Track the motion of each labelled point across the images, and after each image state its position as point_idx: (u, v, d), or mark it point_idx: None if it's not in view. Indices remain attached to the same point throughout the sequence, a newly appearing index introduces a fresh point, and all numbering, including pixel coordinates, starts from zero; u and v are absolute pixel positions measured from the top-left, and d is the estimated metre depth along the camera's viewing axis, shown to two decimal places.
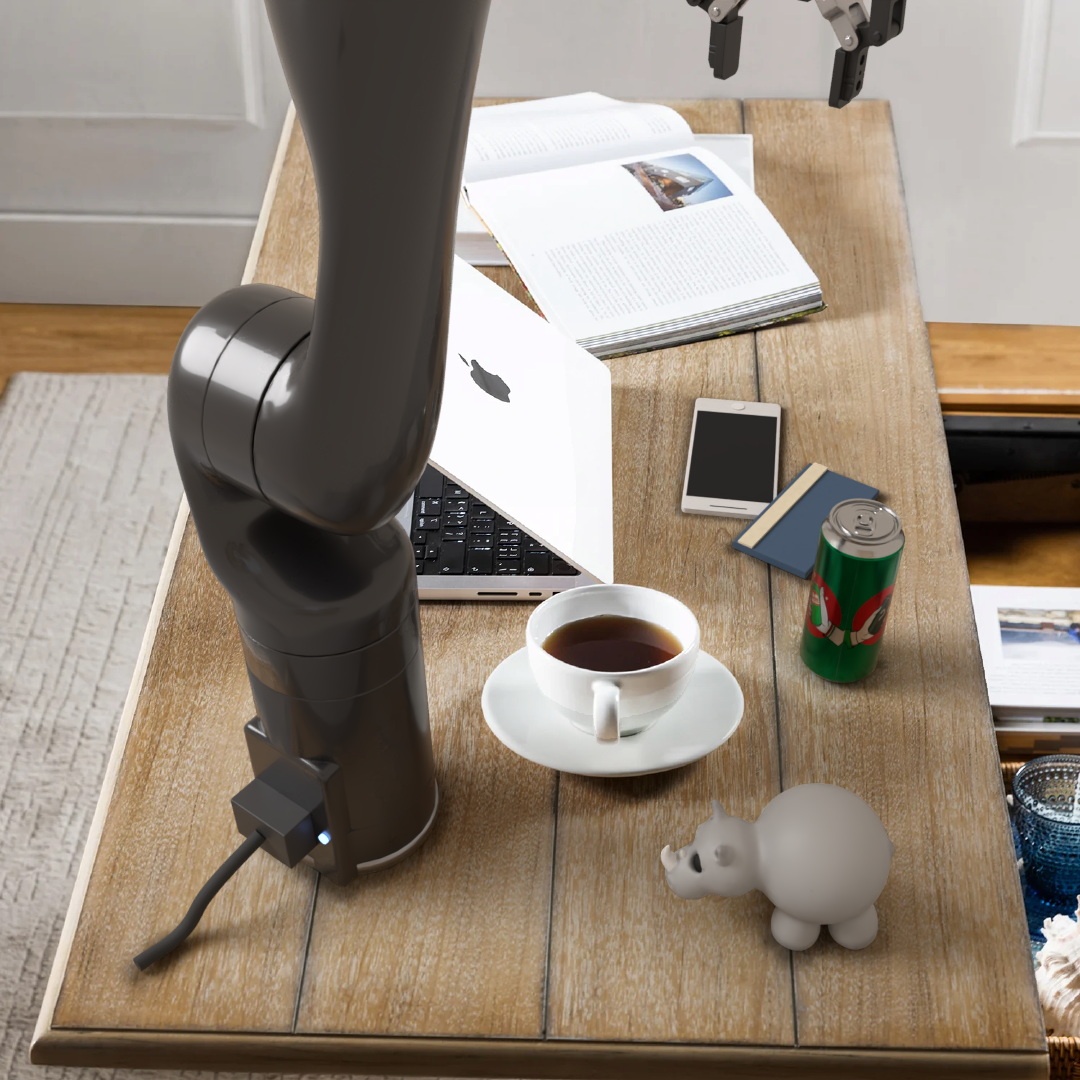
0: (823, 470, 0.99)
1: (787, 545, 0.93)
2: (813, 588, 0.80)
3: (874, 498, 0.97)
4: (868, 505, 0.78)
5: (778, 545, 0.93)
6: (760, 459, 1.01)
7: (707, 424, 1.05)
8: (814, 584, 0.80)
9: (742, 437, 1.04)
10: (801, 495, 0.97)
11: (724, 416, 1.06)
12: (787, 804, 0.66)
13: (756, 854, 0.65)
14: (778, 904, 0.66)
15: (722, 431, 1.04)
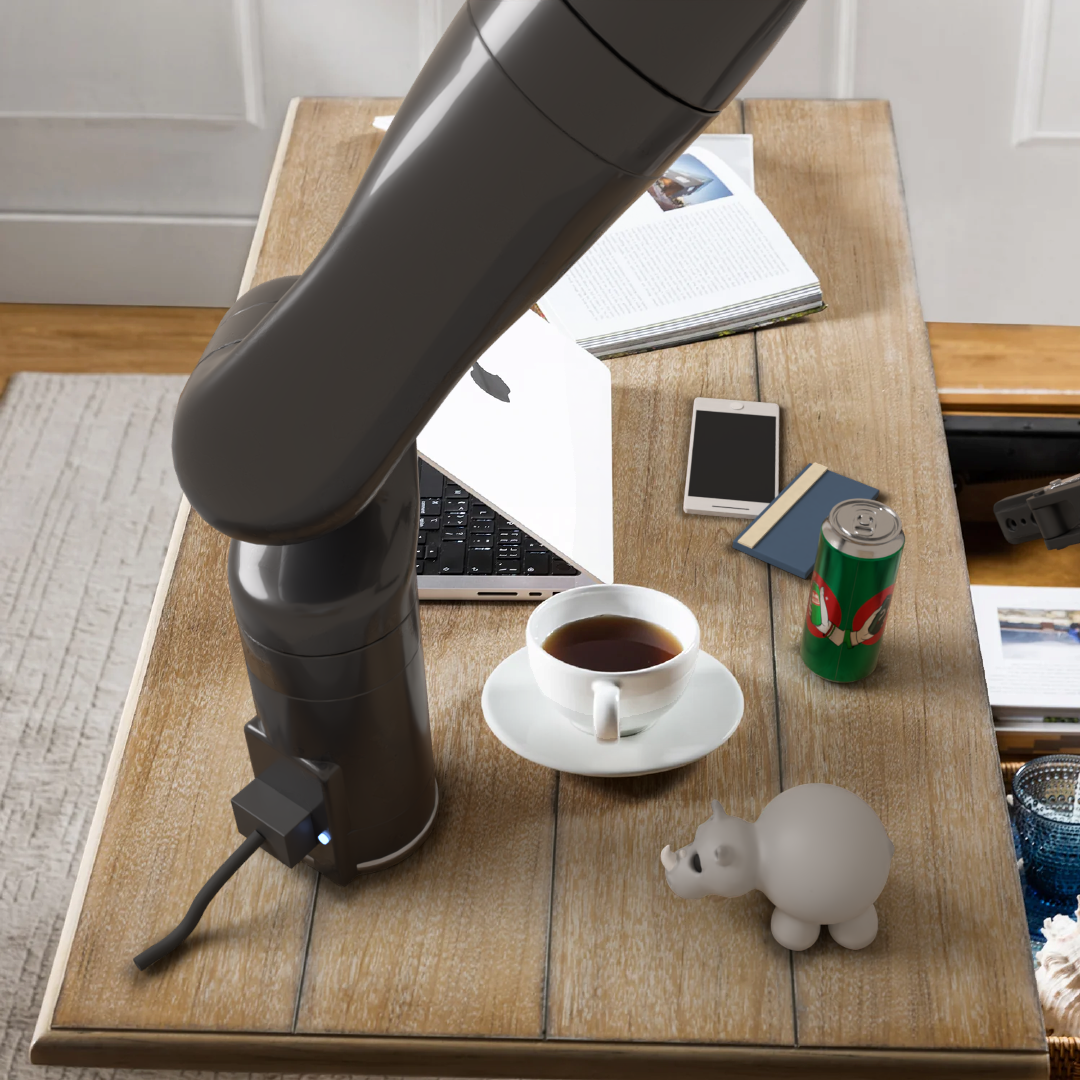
0: (823, 470, 0.99)
1: (787, 545, 0.93)
2: (813, 588, 0.80)
3: (874, 498, 0.97)
4: (868, 505, 0.78)
5: (778, 545, 0.93)
6: (761, 459, 1.01)
7: (706, 424, 1.05)
8: (814, 584, 0.80)
9: (742, 437, 1.04)
10: (801, 495, 0.97)
11: (723, 416, 1.06)
12: (787, 804, 0.66)
13: (756, 854, 0.65)
14: (778, 904, 0.66)
15: (721, 431, 1.04)
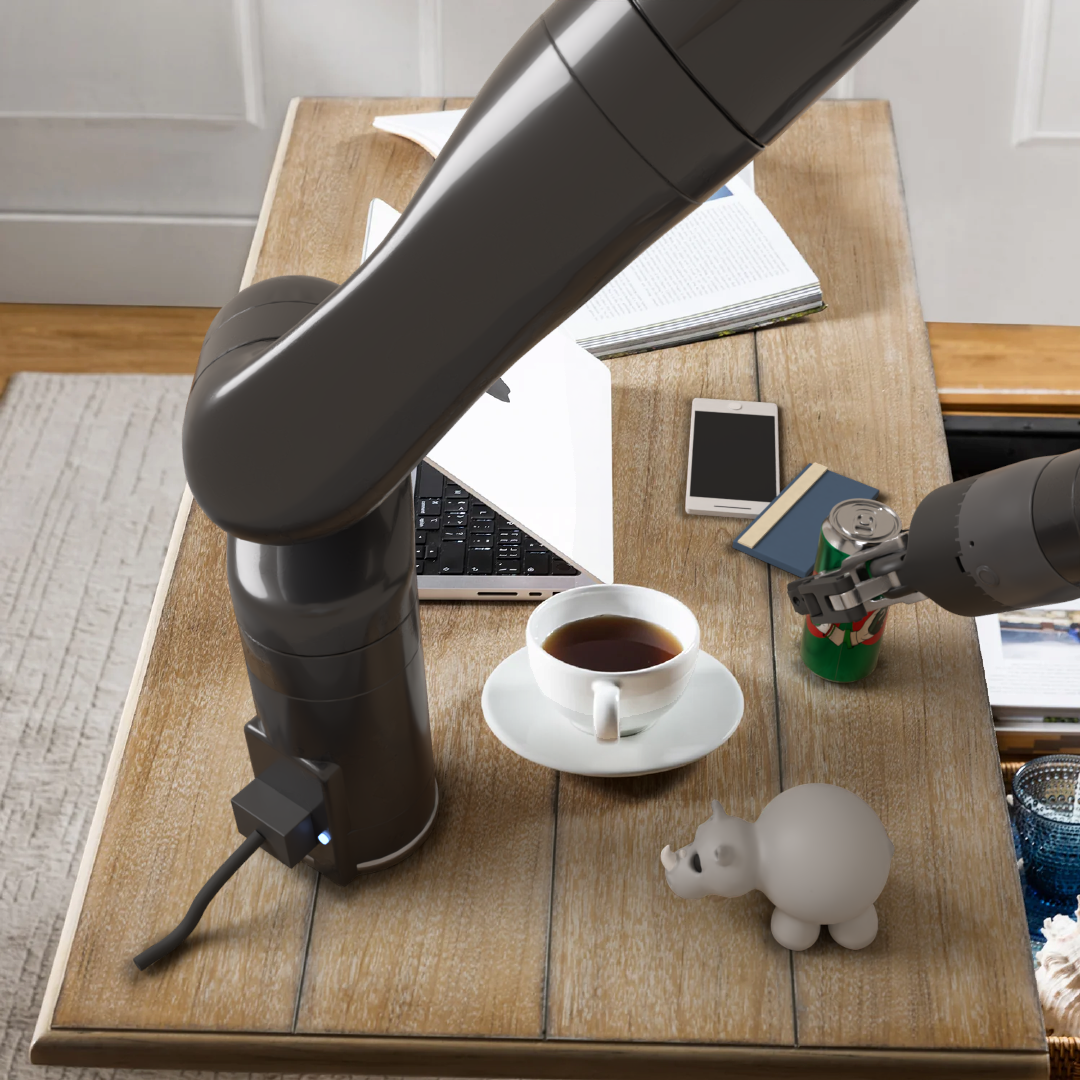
0: (823, 470, 0.99)
1: (787, 545, 0.93)
2: None
3: (874, 498, 0.97)
4: (868, 505, 0.78)
5: (778, 545, 0.93)
6: (761, 459, 1.01)
7: (705, 424, 1.05)
8: None
9: (742, 437, 1.04)
10: (801, 495, 0.97)
11: (721, 416, 1.06)
12: (787, 804, 0.66)
13: (756, 854, 0.65)
14: (778, 904, 0.66)
15: (721, 431, 1.04)
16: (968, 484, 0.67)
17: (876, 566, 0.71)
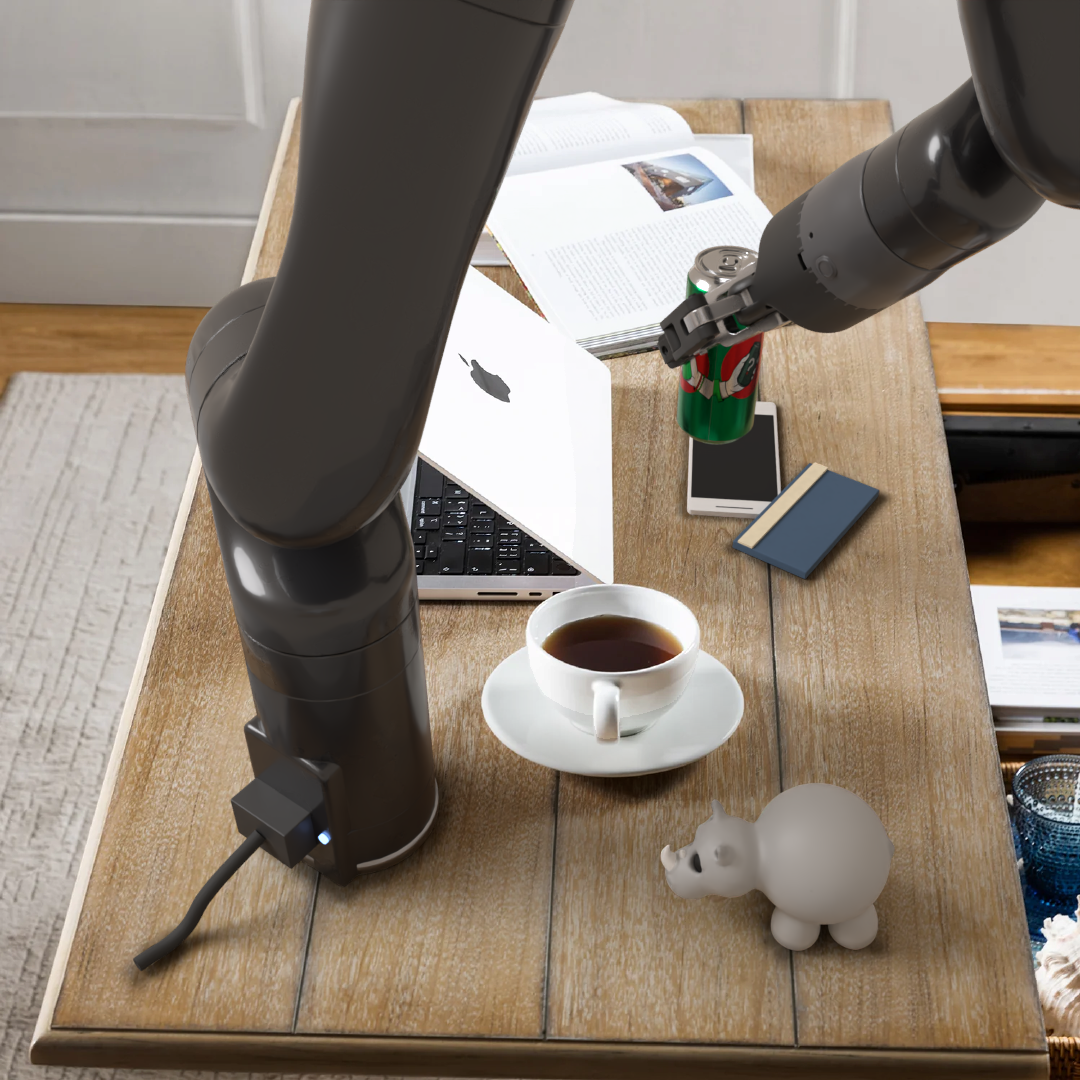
0: (823, 470, 0.99)
1: (787, 545, 0.93)
2: None
3: (874, 498, 0.97)
4: (736, 251, 0.78)
5: (778, 545, 0.93)
6: (761, 458, 1.01)
7: None
8: None
9: None
10: (801, 495, 0.97)
11: None
12: (787, 804, 0.66)
13: (756, 854, 0.65)
14: (778, 904, 0.66)
15: None
16: (813, 186, 0.67)
17: (730, 287, 0.71)
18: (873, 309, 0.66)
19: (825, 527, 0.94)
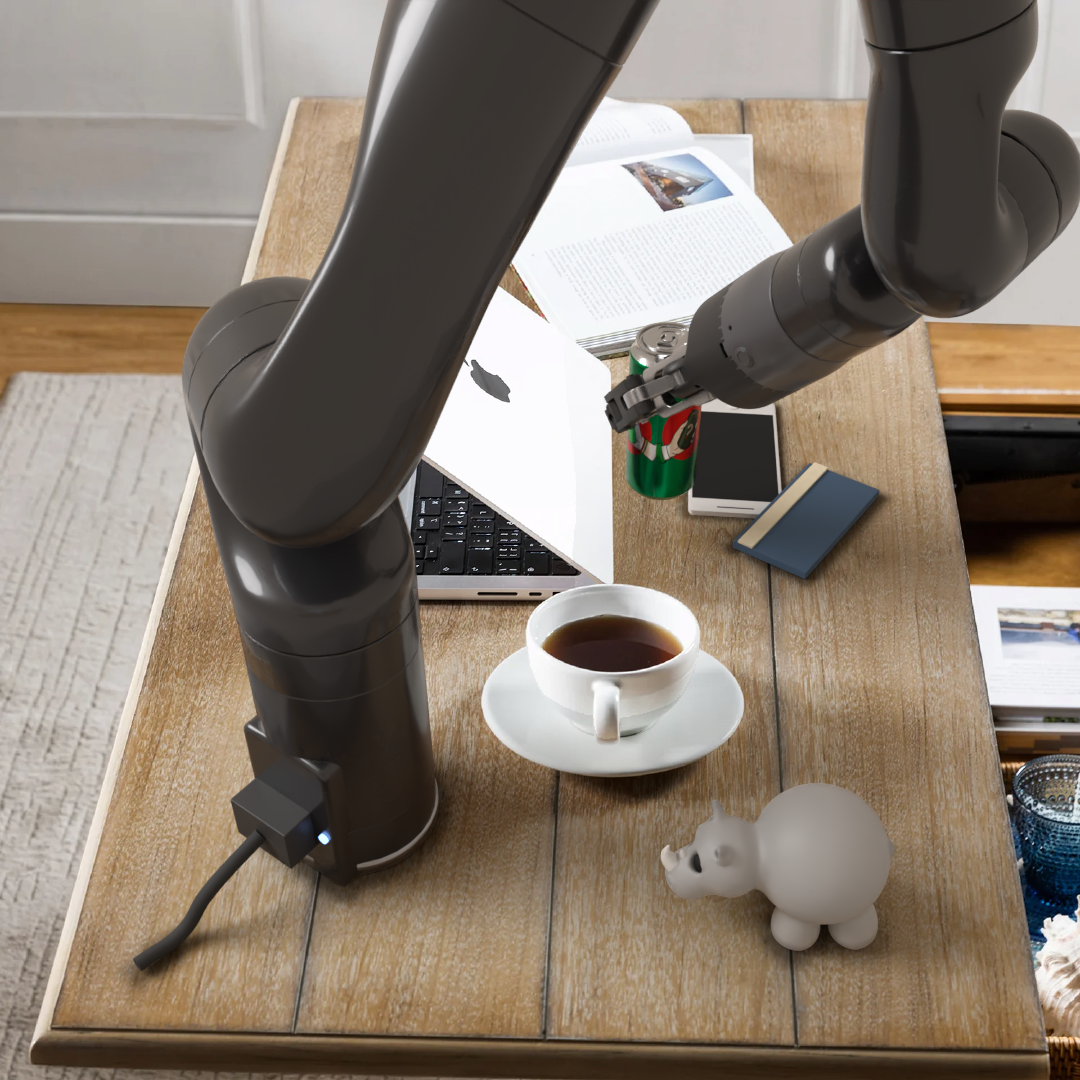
0: (823, 470, 0.99)
1: (787, 545, 0.93)
2: None
3: (874, 498, 0.97)
4: (674, 327, 0.86)
5: (778, 545, 0.93)
6: (761, 458, 1.01)
7: (704, 424, 1.05)
8: None
9: (741, 437, 1.04)
10: (801, 495, 0.97)
11: (720, 416, 1.06)
12: (787, 804, 0.66)
13: (756, 854, 0.65)
14: (778, 904, 0.66)
15: (720, 431, 1.04)
16: (734, 281, 0.74)
17: (664, 367, 0.79)
18: (789, 391, 0.74)
19: (825, 527, 0.94)
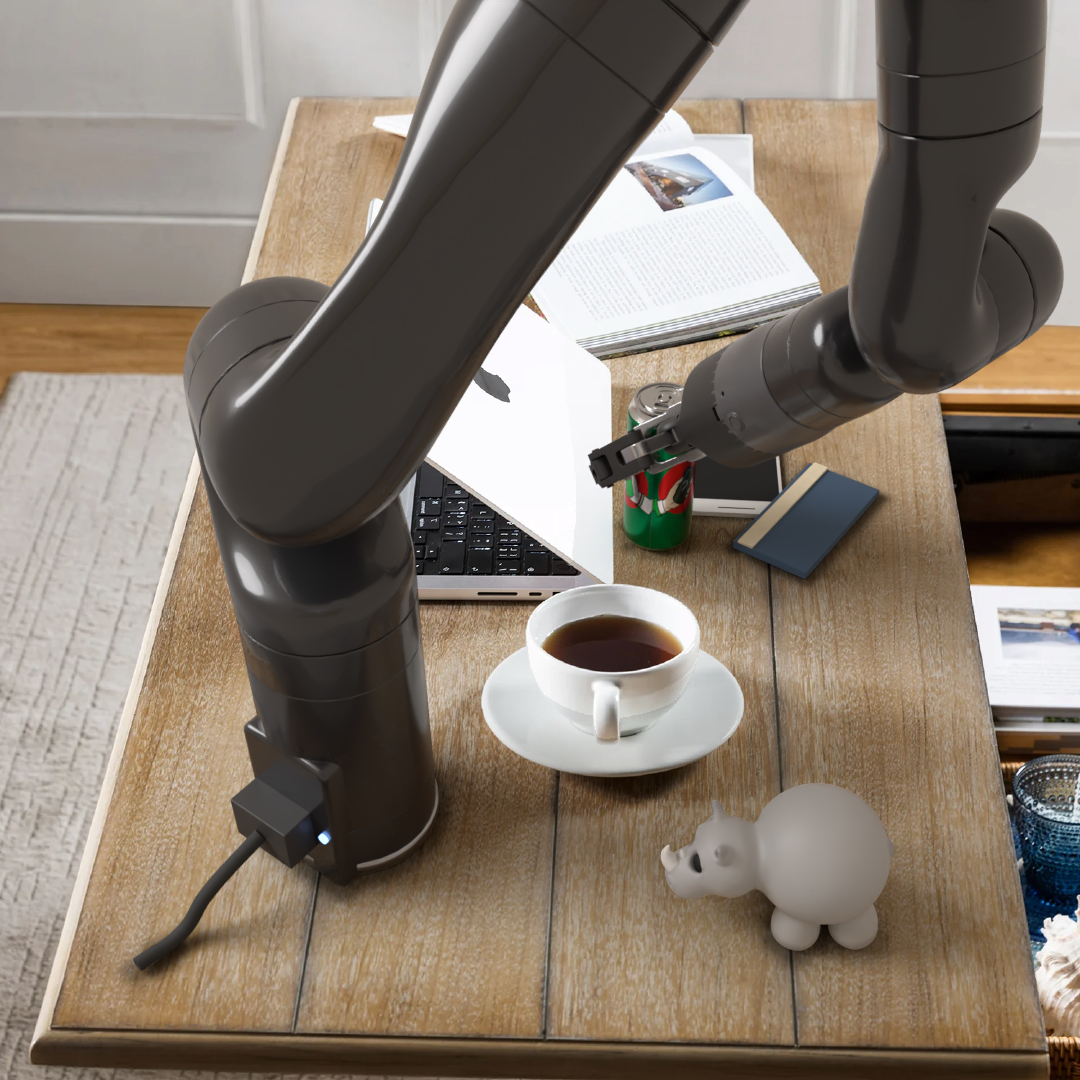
0: (823, 470, 0.99)
1: (787, 545, 0.93)
2: None
3: (874, 498, 0.97)
4: (670, 387, 0.89)
5: (778, 545, 0.93)
6: None
7: None
8: None
9: None
10: (801, 495, 0.97)
11: None
12: (787, 804, 0.66)
13: (756, 854, 0.65)
14: (778, 904, 0.66)
15: None
16: (726, 346, 0.77)
17: (659, 425, 0.82)
18: (778, 453, 0.77)
19: (825, 527, 0.94)
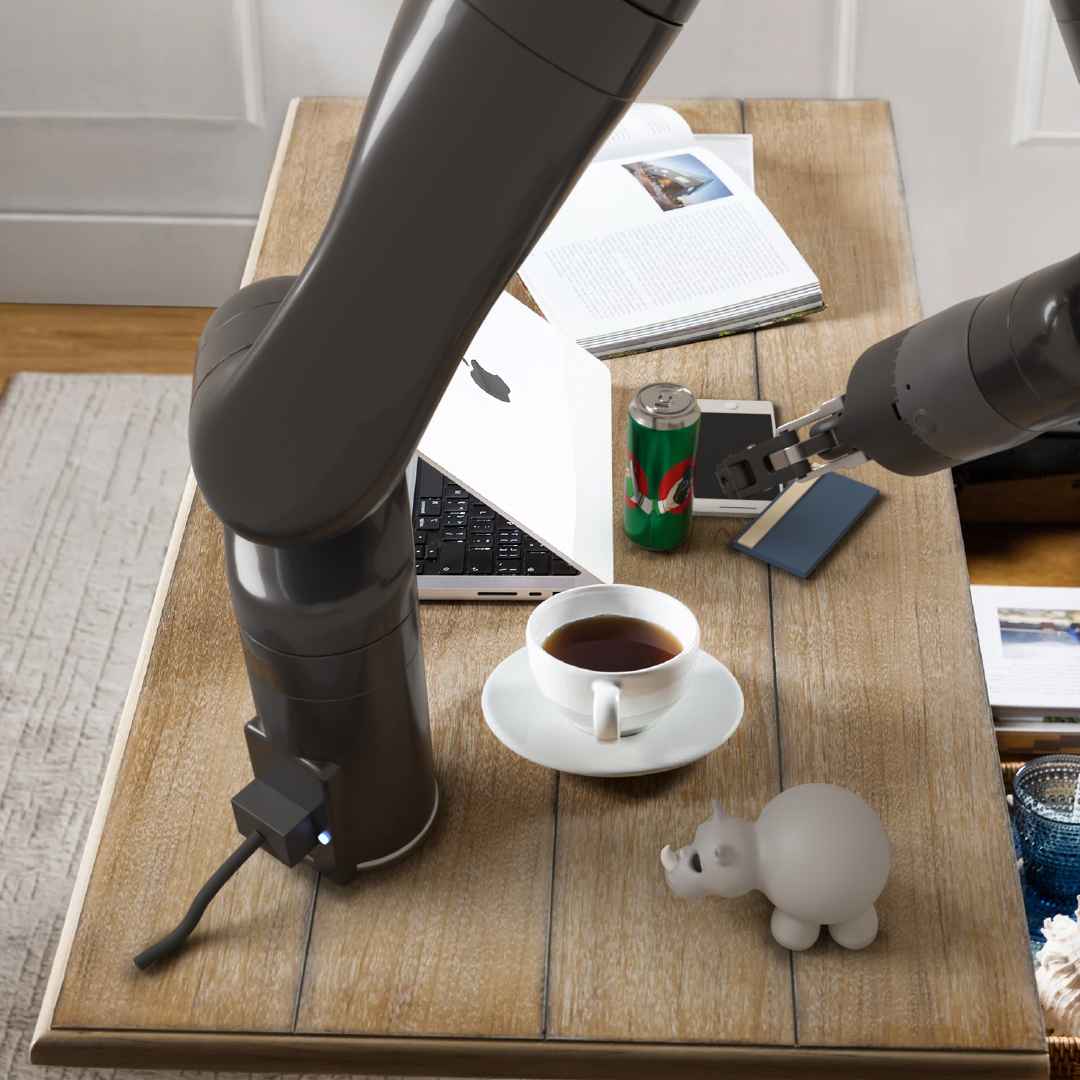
0: None
1: (787, 545, 0.93)
2: (626, 463, 0.90)
3: (874, 498, 0.97)
4: (671, 387, 0.89)
5: (778, 545, 0.93)
6: None
7: (703, 425, 1.05)
8: (626, 459, 0.90)
9: (740, 436, 1.04)
10: (801, 495, 0.97)
11: (718, 416, 1.06)
12: (787, 804, 0.66)
13: (756, 854, 0.65)
14: (778, 904, 0.66)
15: (719, 431, 1.04)
16: (907, 330, 0.64)
17: (814, 425, 0.68)
18: (969, 460, 0.64)
19: (825, 527, 0.94)
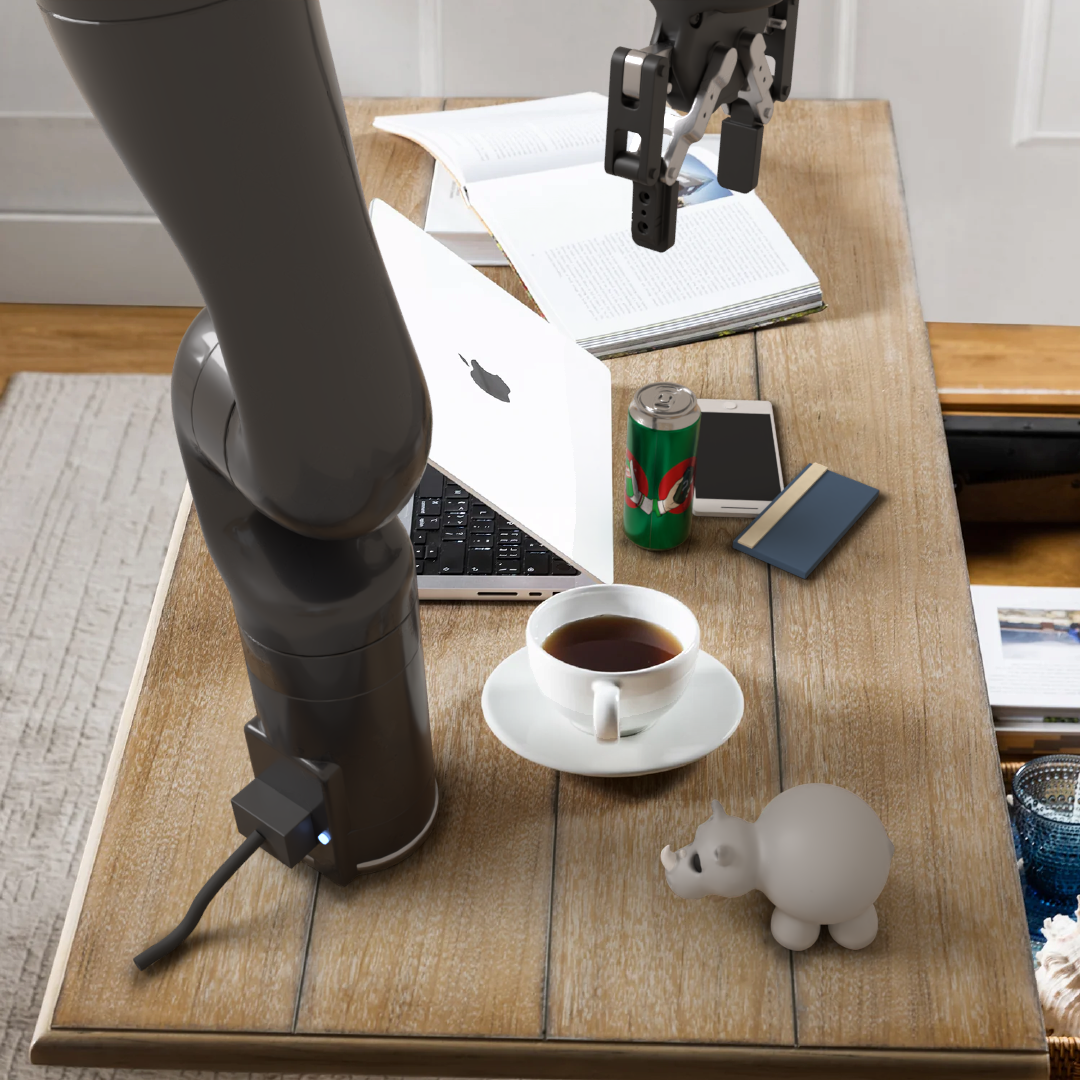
0: (823, 470, 0.99)
1: (787, 545, 0.93)
2: (626, 463, 0.90)
3: (874, 498, 0.97)
4: (671, 387, 0.89)
5: (778, 545, 0.93)
6: (762, 458, 1.02)
7: (703, 425, 1.05)
8: (626, 459, 0.90)
9: (740, 436, 1.04)
10: (801, 495, 0.97)
11: (717, 416, 1.06)
12: (787, 804, 0.66)
13: (756, 854, 0.65)
14: (778, 904, 0.66)
15: (719, 431, 1.04)
16: None
17: None
18: None
19: (825, 527, 0.94)
